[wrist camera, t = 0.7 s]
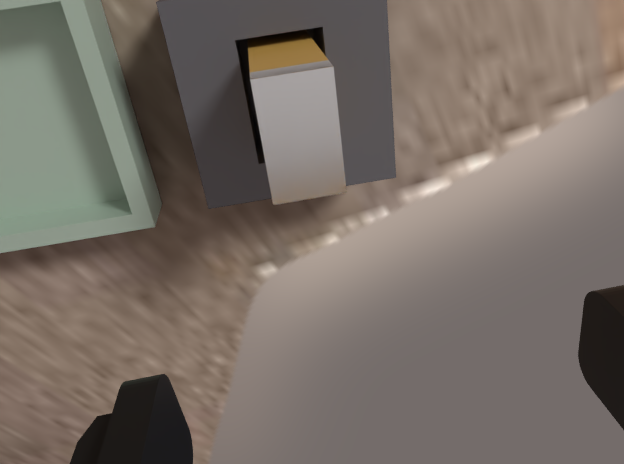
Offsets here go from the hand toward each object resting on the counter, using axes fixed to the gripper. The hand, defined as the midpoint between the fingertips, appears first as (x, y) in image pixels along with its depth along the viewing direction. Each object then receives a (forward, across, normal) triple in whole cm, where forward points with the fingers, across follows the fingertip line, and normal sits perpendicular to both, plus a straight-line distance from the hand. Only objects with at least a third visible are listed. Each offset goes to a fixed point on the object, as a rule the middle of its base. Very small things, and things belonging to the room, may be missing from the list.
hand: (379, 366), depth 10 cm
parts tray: (+22, +16, -2) cm, 27 cm away
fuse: (+22, 0, -1) cm, 22 cm away
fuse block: (+22, 0, -1) cm, 23 cm away
